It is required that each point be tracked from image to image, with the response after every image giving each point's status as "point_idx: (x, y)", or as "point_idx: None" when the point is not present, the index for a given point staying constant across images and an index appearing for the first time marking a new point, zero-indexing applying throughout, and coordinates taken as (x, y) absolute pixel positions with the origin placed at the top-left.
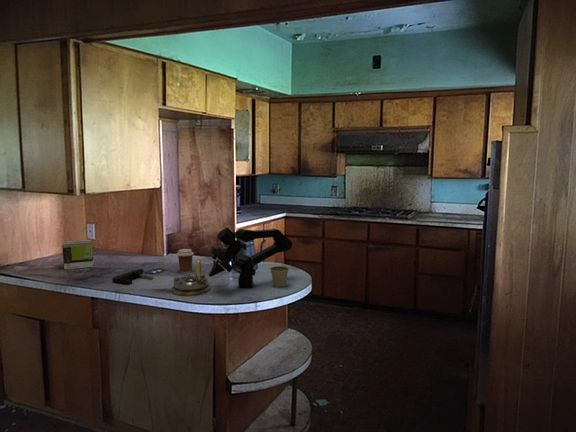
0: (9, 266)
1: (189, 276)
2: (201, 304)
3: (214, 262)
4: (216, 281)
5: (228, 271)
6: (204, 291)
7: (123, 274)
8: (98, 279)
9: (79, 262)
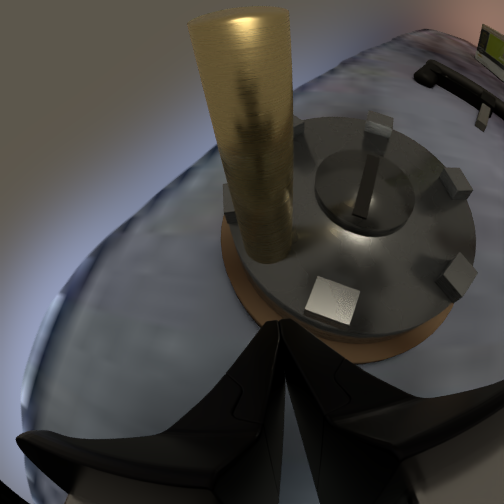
0: (461, 39)
1: (450, 193)
2: (76, 271)
3: (363, 440)
4: None
5: (6, 486)
6: (247, 309)
7: (458, 73)
8: (441, 63)
9: (491, 61)
